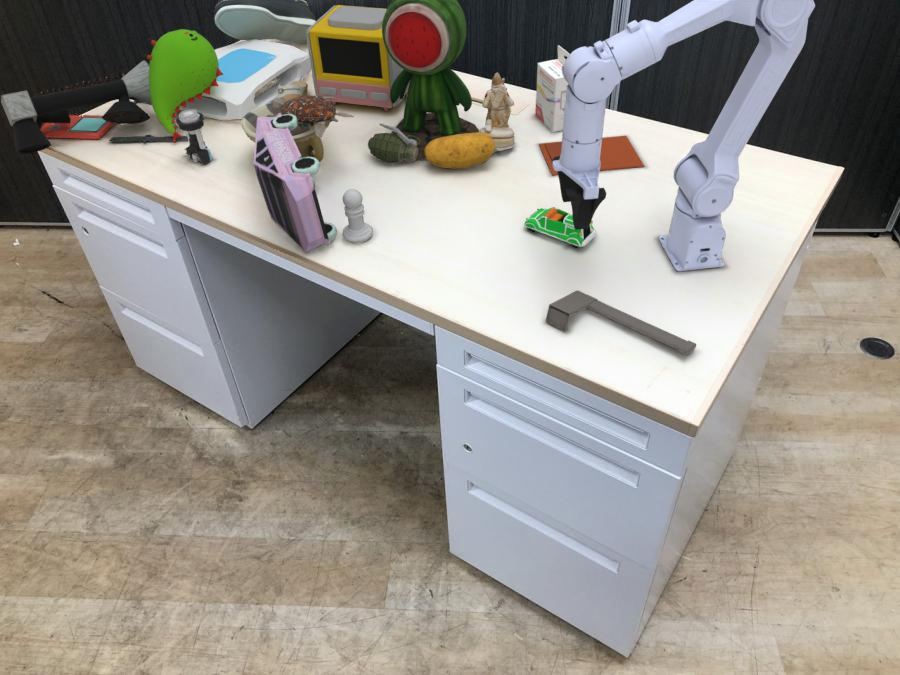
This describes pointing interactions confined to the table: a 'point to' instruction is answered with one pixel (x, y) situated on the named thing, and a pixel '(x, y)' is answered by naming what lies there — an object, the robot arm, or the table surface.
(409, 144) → the grenade
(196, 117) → the push button
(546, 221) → the toy car
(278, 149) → the toy car
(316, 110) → the toy
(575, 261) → the table surface
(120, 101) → the telephone
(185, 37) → the toy
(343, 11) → the alarm clock
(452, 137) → the potato
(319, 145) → the bowl
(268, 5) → the boat shoe
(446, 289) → the table surface
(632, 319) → the toilet paper hanger
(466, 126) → the figurine
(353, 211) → the chess piece
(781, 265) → the table surface
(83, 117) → the handheld gaming console
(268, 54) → the document scanner
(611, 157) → the rust cloth
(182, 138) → the knife
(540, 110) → the ink cartridge box
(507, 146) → the figurine
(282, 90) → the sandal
